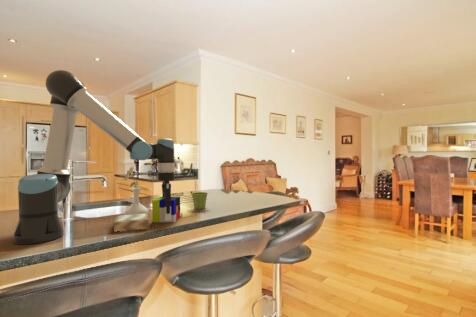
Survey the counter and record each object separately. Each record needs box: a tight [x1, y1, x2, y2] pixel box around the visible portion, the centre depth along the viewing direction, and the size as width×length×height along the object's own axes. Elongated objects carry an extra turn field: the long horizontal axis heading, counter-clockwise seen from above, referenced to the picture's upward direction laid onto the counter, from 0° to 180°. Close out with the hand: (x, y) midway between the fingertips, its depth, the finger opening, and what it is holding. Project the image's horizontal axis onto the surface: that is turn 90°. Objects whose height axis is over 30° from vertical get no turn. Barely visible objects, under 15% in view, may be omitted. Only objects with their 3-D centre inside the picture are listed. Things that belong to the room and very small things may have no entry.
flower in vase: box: [123, 166, 149, 215], centre depth 138 cm, size 13×11×25 cm
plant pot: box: [190, 191, 209, 210], centre depth 155 cm, size 9×9×9 cm
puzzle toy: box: [151, 196, 181, 223], centre depth 128 cm, size 10×10×10 cm
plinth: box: [113, 212, 149, 233], centre depth 117 cm, size 13×13×4 cm
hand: (166, 217), depth 128 cm, fingers closed on puzzle toy, 12 cm apart
